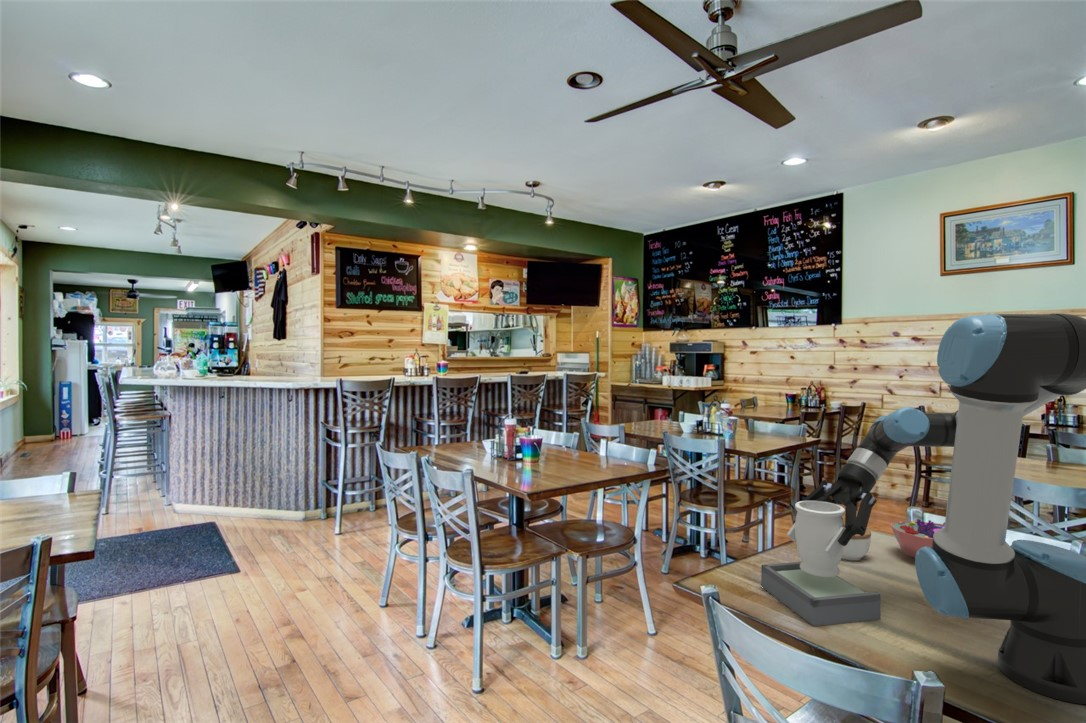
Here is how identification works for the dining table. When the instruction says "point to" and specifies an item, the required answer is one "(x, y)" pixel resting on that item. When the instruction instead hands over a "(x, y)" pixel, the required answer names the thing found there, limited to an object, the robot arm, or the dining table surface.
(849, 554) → the lidded jar
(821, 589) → the tray
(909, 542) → the cell model
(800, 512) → the jar
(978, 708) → the dining table surface
